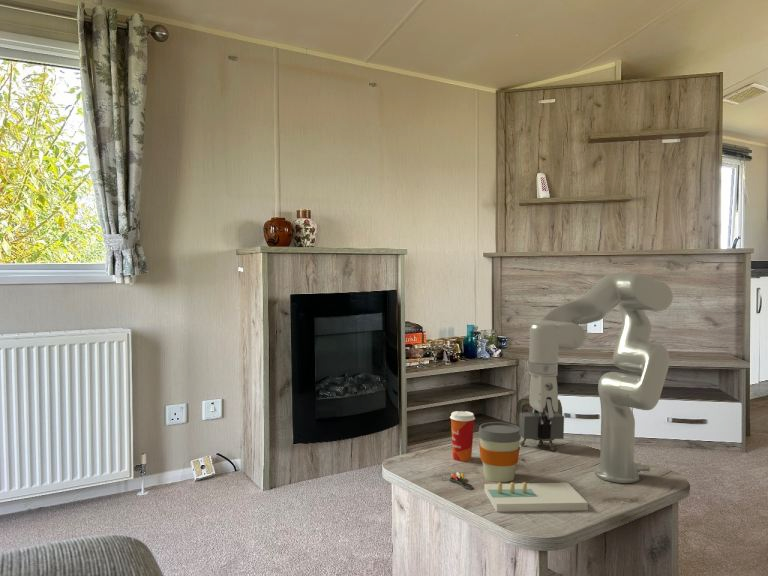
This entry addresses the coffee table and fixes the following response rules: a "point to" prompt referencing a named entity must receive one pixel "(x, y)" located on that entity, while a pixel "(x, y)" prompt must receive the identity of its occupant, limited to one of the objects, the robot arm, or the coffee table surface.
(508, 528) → the coffee table surface
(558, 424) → the block
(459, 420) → the coffee cup
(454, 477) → the composite cable
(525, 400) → the tabletop clock
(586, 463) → the coffee table surface
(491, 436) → the reusable coffee cup
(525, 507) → the board
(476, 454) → the coffee table surface
